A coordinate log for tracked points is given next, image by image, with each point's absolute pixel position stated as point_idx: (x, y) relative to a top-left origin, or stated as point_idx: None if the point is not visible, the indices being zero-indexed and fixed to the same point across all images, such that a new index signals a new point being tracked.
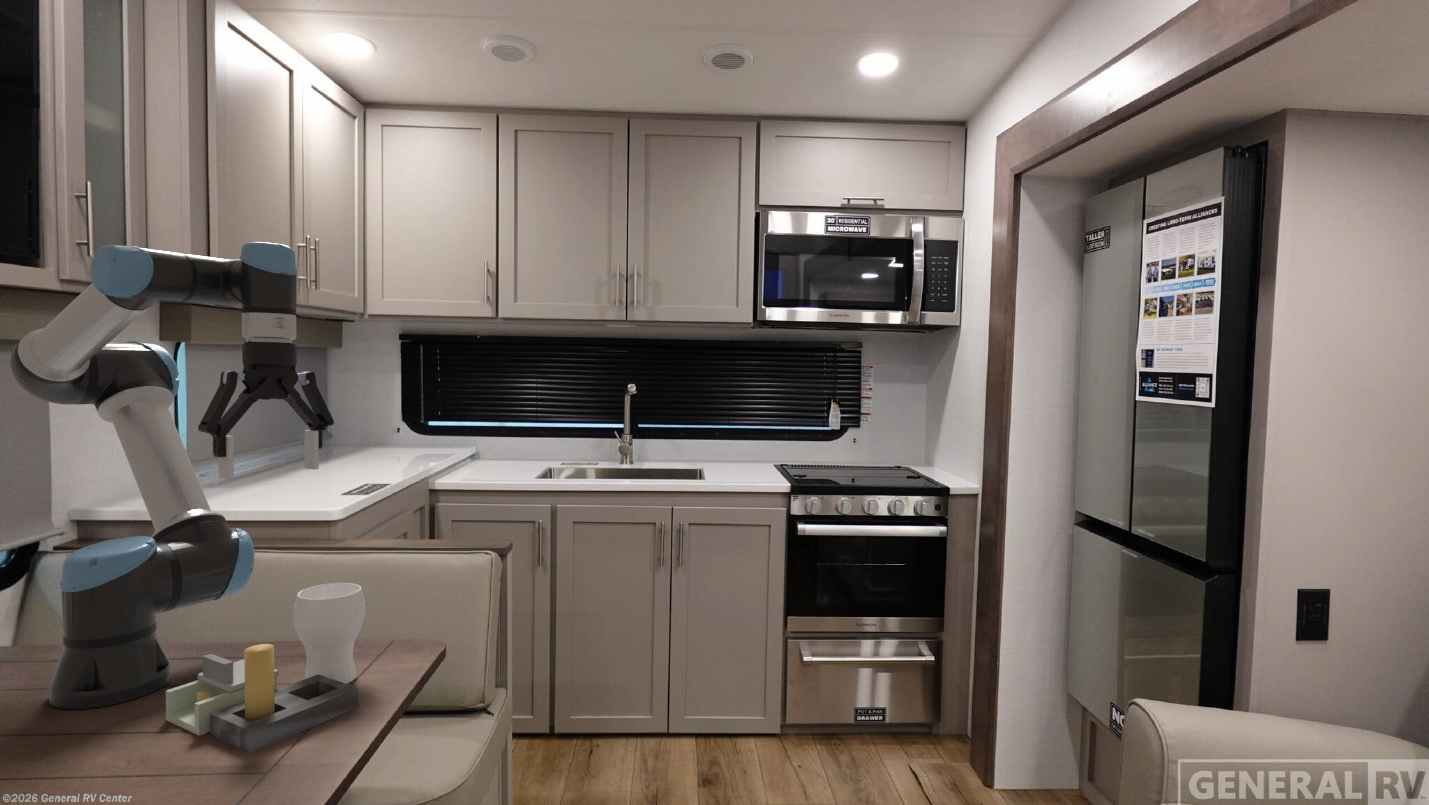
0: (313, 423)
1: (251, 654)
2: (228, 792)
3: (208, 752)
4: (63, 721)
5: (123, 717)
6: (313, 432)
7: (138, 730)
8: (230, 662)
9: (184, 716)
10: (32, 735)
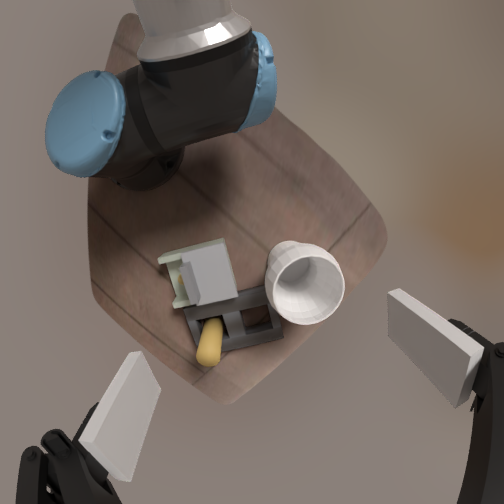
0: (473, 422)
1: (200, 363)
2: (184, 378)
3: (181, 328)
4: (110, 199)
5: (141, 222)
6: (453, 401)
7: (147, 257)
8: (196, 303)
9: (173, 270)
10: (95, 213)
